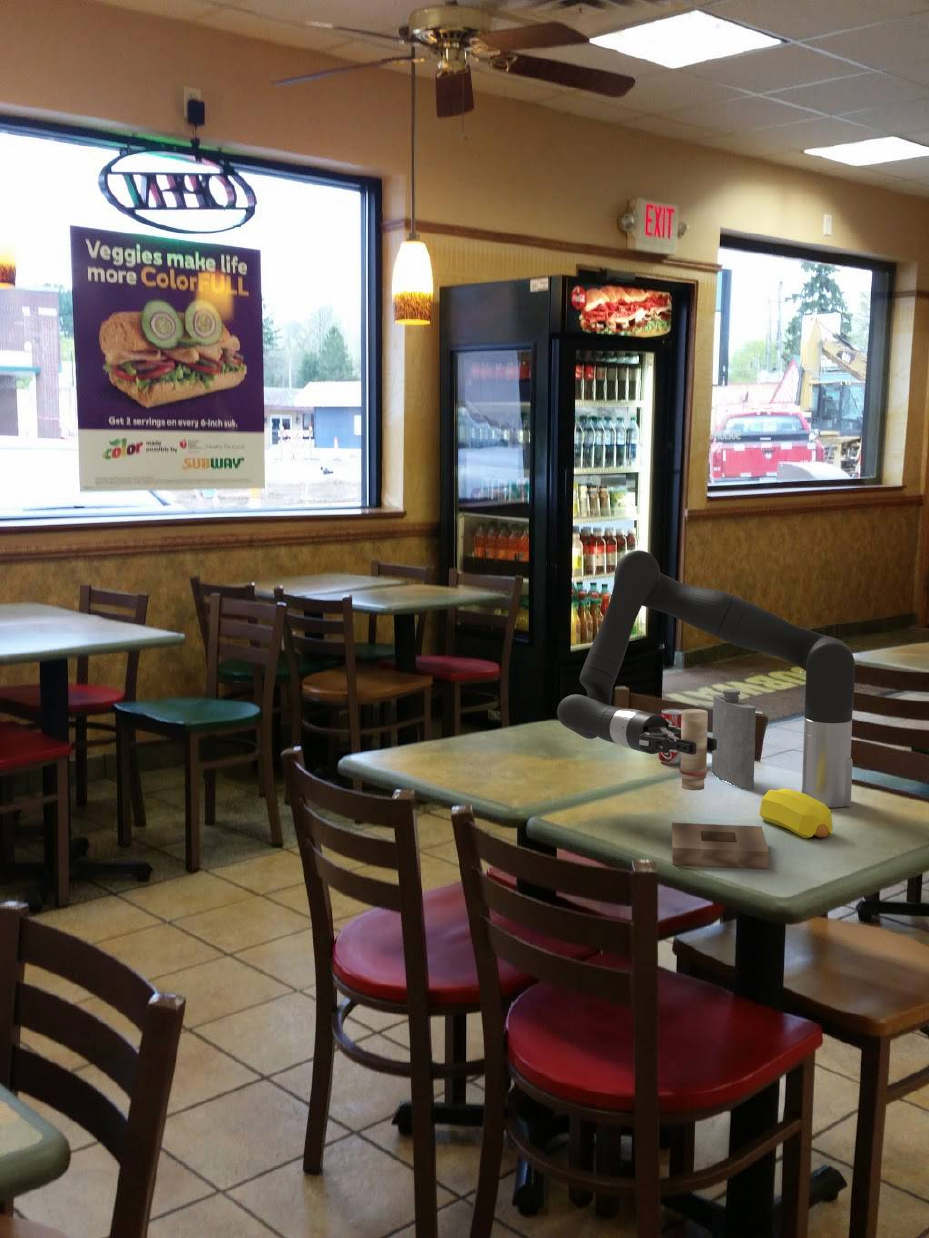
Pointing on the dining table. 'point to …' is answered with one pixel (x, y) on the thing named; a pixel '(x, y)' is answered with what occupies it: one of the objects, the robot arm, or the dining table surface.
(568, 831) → the dining table surface
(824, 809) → the low-poly banana
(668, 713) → the soda can
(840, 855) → the dining table surface
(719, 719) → the hip flask
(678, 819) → the dining table surface
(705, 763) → the peg
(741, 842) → the board
